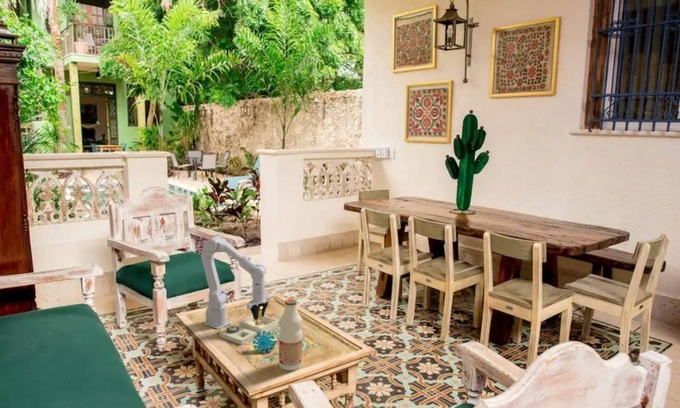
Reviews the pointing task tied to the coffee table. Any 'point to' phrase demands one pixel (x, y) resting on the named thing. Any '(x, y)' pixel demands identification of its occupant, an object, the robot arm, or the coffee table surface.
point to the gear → (264, 342)
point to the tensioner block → (237, 334)
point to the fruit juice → (290, 337)
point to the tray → (266, 325)
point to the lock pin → (259, 316)
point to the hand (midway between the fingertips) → (258, 317)
